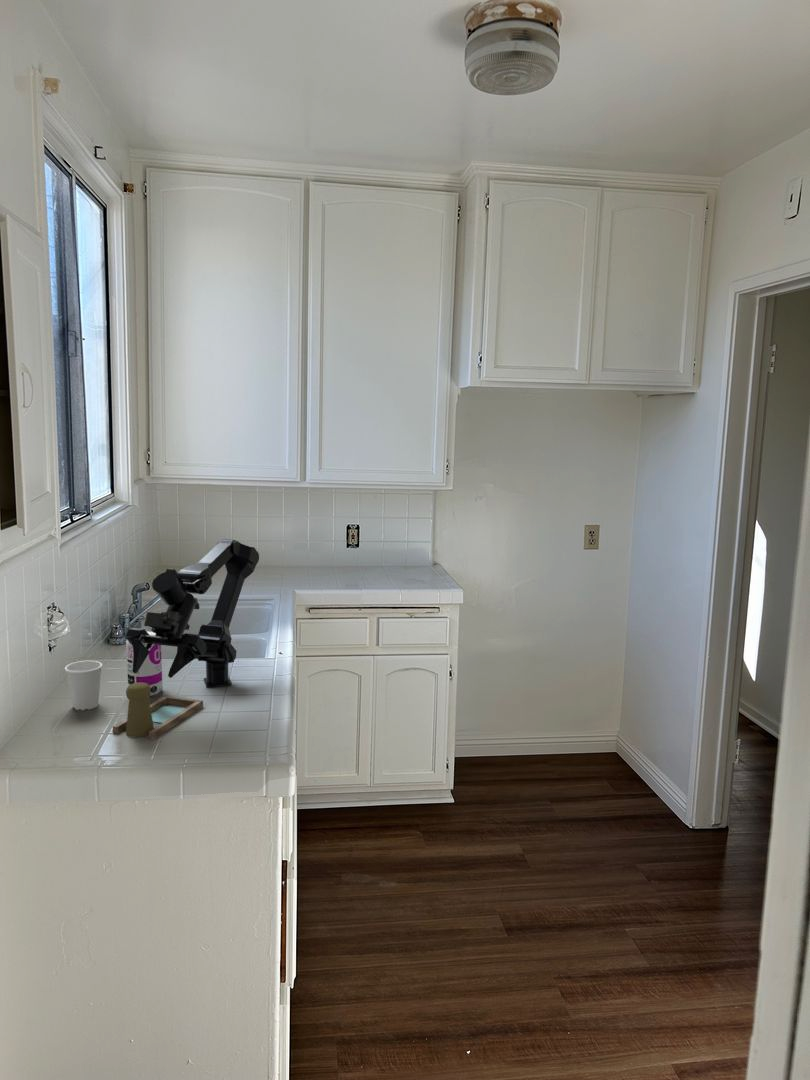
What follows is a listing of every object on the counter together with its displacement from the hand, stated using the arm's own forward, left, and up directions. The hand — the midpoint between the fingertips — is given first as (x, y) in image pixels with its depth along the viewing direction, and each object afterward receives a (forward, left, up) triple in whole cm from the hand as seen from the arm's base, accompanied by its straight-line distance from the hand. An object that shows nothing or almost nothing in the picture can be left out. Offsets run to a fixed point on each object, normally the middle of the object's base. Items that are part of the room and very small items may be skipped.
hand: (151, 674), depth 181 cm
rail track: (-2, +2, -11) cm, 12 cm away
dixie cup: (-16, -15, -12) cm, 25 cm away
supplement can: (-21, -1, -12) cm, 24 cm away
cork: (+4, -3, -12) cm, 13 cm away
